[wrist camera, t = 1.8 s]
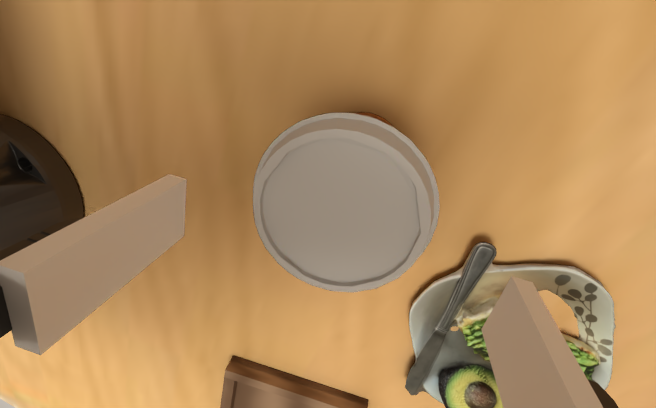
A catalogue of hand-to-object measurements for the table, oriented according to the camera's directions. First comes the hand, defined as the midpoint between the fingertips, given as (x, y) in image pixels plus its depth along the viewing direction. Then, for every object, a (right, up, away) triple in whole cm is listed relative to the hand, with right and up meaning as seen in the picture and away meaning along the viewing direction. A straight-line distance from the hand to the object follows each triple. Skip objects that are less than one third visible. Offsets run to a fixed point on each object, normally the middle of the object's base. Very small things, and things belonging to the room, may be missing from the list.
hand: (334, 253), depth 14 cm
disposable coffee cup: (+2, +6, +14) cm, 15 cm away
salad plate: (+16, -11, +19) cm, 27 cm away
